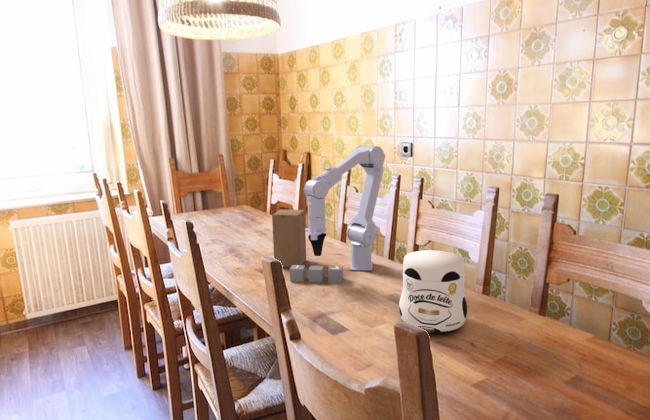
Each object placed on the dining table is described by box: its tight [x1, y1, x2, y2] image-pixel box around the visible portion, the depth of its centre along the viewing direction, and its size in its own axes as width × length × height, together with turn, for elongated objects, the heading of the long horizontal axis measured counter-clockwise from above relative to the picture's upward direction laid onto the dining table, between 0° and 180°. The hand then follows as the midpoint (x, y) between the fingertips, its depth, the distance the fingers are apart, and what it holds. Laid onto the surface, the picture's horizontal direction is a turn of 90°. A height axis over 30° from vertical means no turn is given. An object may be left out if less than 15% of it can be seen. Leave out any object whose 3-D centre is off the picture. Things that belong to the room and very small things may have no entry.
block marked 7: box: [327, 265, 344, 284], centre depth 154 cm, size 4×4×5 cm
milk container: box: [398, 249, 468, 334], centre depth 119 cm, size 17×17×18 cm
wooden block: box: [271, 209, 307, 268], centre depth 172 cm, size 10×10×20 cm
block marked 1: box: [289, 264, 306, 283], centre depth 156 cm, size 4×4×5 cm
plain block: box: [307, 264, 325, 283], centre depth 155 cm, size 4×4×4 cm
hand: (317, 255), depth 154 cm, fingers closed
